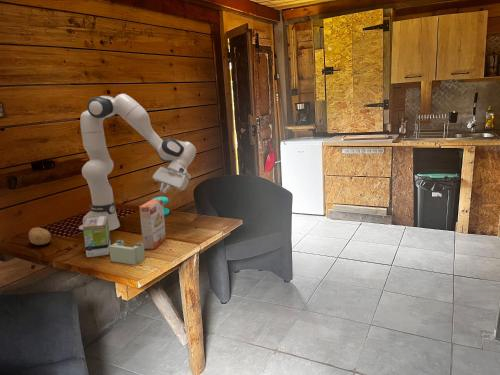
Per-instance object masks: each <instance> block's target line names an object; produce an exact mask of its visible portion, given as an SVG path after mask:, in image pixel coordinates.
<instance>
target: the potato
mask: <svg viewBox="0 0 500 375" xmlns="http://www.w3.org/2000/svg"><path fill="white" fill-rule="evenodd" d="M51 238H52V234H51V233H50V231H49V230H47V229H45V228H41V227H33V228H31V229H30V230H29V231H28V240H29V241H30V243H31V244H33V245H36V246H42V245H43V246H44V244H45V245H47V244H48V243H50V242H51V241H50V240H51Z"/></svg>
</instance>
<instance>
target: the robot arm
mask: <svg viewBox="0 0 500 375" xmlns="http://www.w3.org/2000/svg"><path fill="white" fill-rule="evenodd" d="M86 107H87V109H86V110H85V111H83V112H82V113H81V115H80V121H79V122H80V132H81V133H80V134H81V139H82V145H83V148H84V150H85V151H86V154H87V155H88V158H89V160H88V161H87V162H85V164H84V165H83V166H82V168H81V174H82V177H83V178H84V179H85V180H86V182H87V185H88V188H89V191H90V192H89V193H90V196H91V197H90V198H91V204H89V205H88V206H89V208H90V211H88V212H87V213H86V215H84V216H83V218H82V224H81V225H80V226H78V230H82V231H83V226H84V223H85V221H86V218H92V217H101V216H107V217H108V224H109V232H110V231H113V230H116V229H118V228H120V227H121V224H120V221H119V218H118V215H117V211H116V203H115V201H114V200H115V199H114V192H113V187H112V186H111V184H110V183H109V179H108V175H109V174H111V173H112V171H113V169H114V161H113V159H112V158H111V155H110V153H109V150H108V147H107V142H106V136H105V131H104V124H103V123H104V121H105V120H107V119H109V118H112V117H114V116H116V115H119V116H120V117H121V118H122V119H123V120H124V121H126V123H128V125H129V126H131V127H132V128H133V129H134V130H135V131H136V132H138V133H139V134H140V135H141V136H142V137H143V138H144V139H145V141H146V142H147V143H148V144H149V145H150V146H151V147H152V148H153V149H154V150H155V151H156V152H155V153H157V155H158V158H159V159H160V160H161V161H162V162H164V163H170V164H168V166H165V165H162V166H160V167H159V168H158V169H156V171H155V172H154V173H153V175H152V179H153V180H154V181H155V182H158V183H160V189H159V192H160V193H164V194H166V193H167V192H168V191H169V190H172V188H173V189H176V190H178V191H181V192H183V191H184V190H186V188H187V187H188V184H189V182H190V181H189V180H190V179H192V176H191V174H190V173H189V172H188V171H187V170H188V167H189V165H191V163H192V162H193V161H194V159H195V157H196V154H197V148H196V147H195V145H194V144H193V143H192V142H190V141H181V140H178V139H175V138H173V137H167V138H164V139H162V138H161V137H160V136H159V135H158V134H157V133H156V131H154V129H153V127H152V125H151V124H152V123H151V119H150V115H149V114H148V112H147V110H146V109H145V108H144V107H143V106H142V105H141V104H140V103H139V102H138V101H136V100H135V99H134V98H133V97H131V96H130V95H128V94H127V93H120V94H117V95H116V96H115V97H113V96H111V95H100V96H94V97H92V98H90V99H89V101H88V102H87V104H86Z"/></svg>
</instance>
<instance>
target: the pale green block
mask: <svg viewBox="0 0 500 375" xmlns="http://www.w3.org/2000/svg"><path fill="white" fill-rule="evenodd" d="M109 249H110V250H109V255H110V262H114V263H121V264H126V265H132V266H136V265H138V264H139V263H141V262H143V261H144V260H145V259H146V254H145V249H144V244H143V242H135V245H134V246H125V241H124V240H122V239H117V240H115V243H113V244H110V246H109Z"/></svg>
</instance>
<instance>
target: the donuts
mask: <svg viewBox="0 0 500 375" xmlns="http://www.w3.org/2000/svg"><path fill="white" fill-rule="evenodd" d="M152 199H162V200H163V210H164V216H167V215H169V214H170V209H169V208H167V207H164V205H166V204H167V203H169V198H168V197H166V196H158V197H157V196H156V197H153V198H152Z"/></svg>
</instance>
